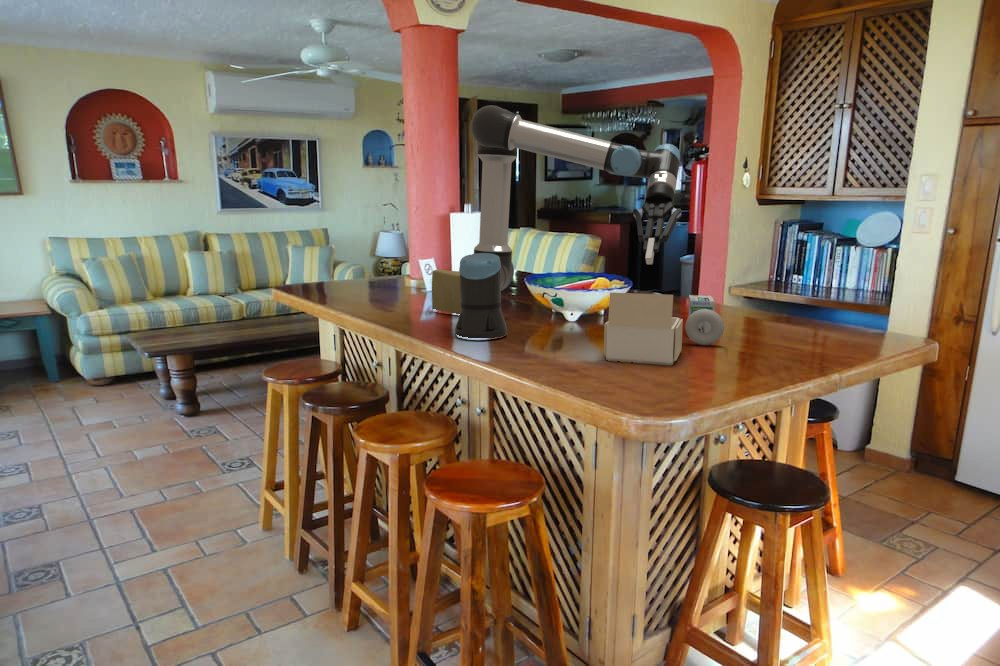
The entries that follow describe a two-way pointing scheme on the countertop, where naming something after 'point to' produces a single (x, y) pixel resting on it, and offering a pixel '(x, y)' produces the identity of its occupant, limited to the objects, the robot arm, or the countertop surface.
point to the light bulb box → (701, 303)
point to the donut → (709, 317)
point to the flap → (640, 310)
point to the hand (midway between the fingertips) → (648, 261)
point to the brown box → (446, 291)
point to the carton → (643, 343)
